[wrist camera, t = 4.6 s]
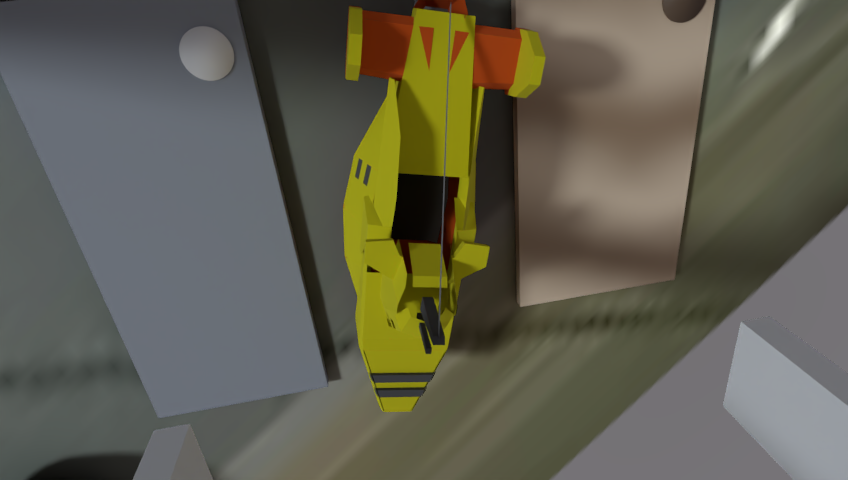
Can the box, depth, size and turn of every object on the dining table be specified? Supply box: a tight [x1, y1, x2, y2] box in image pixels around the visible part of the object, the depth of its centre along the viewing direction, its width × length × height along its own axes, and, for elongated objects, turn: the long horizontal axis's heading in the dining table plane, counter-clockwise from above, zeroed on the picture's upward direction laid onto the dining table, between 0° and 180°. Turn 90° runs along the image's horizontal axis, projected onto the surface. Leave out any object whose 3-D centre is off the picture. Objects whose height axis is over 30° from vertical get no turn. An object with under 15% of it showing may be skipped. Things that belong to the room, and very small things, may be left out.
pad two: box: [511, 0, 715, 307], centre depth 24 cm, size 20×9×1 cm, turn 6°
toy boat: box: [343, 0, 546, 412], centre depth 20 cm, size 6×18×10 cm, turn 173°
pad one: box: [0, 0, 328, 418], centre depth 23 cm, size 20×9×1 cm, turn 6°
